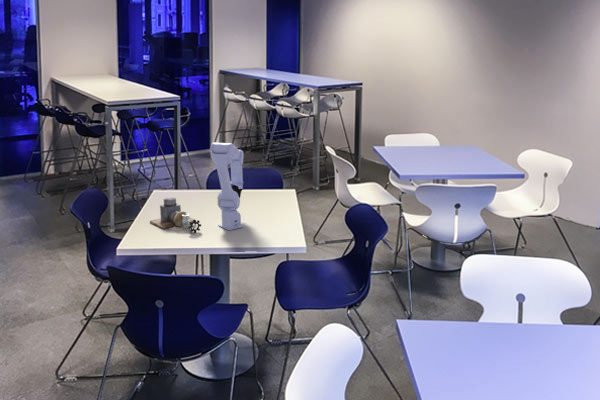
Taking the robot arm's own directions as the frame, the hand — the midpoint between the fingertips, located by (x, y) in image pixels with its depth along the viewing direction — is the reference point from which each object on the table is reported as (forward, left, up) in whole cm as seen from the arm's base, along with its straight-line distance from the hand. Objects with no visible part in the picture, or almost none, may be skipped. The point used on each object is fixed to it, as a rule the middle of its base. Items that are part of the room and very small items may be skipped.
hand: (237, 199), depth 318 cm
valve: (-2, +29, -10) cm, 31 cm away
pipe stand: (+13, +30, -9) cm, 34 cm away
